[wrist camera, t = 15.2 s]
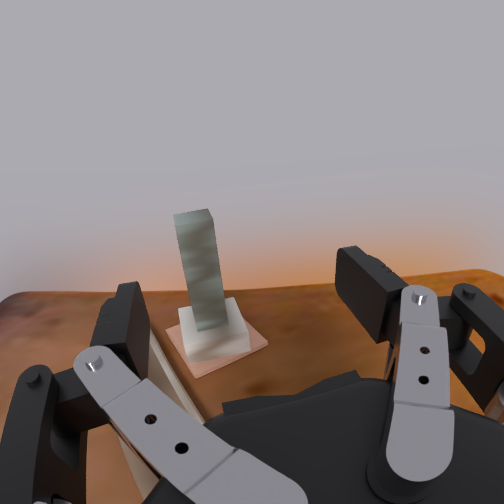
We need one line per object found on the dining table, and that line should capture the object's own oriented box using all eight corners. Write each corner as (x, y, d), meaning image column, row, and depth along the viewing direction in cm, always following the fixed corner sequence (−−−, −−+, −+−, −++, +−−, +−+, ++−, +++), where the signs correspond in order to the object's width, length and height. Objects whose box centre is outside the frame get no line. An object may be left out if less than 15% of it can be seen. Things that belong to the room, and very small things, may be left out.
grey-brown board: (157, 521, 14) (152, 518, 13) (95, 350, 30) (91, 343, 30) (247, 483, 17) (245, 478, 17) (150, 330, 33) (148, 323, 33)
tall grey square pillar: (189, 364, 28) (156, 237, 22) (183, 326, 33) (156, 213, 27) (250, 350, 29) (235, 221, 23) (236, 315, 34) (221, 201, 29)
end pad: (195, 379, 27) (194, 375, 26) (166, 333, 33) (165, 329, 33) (268, 344, 30) (267, 341, 30) (229, 307, 37) (228, 304, 36)
